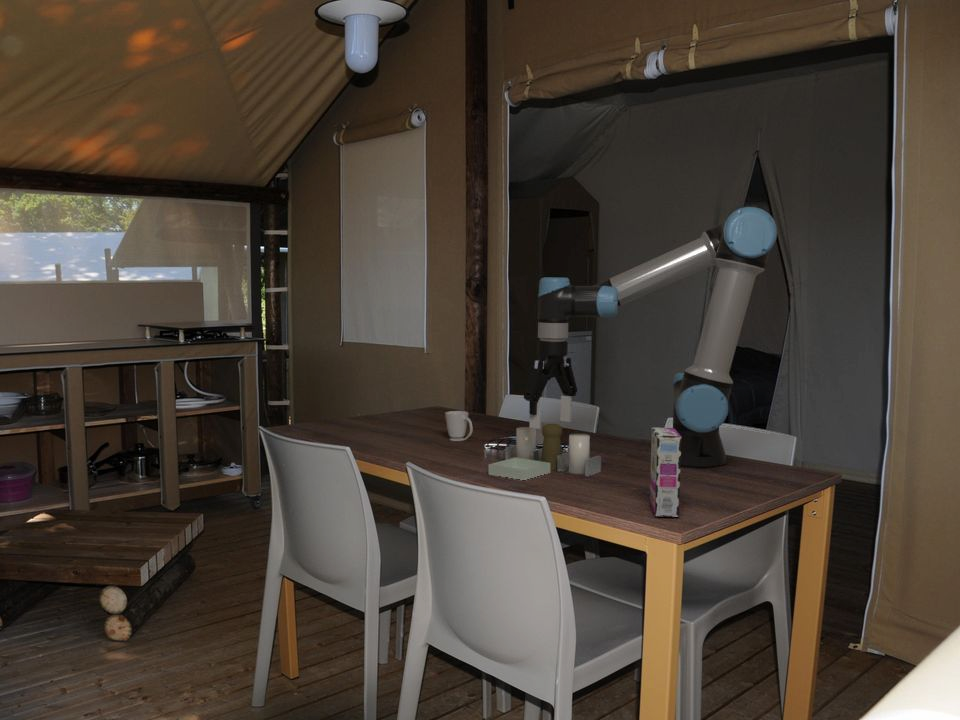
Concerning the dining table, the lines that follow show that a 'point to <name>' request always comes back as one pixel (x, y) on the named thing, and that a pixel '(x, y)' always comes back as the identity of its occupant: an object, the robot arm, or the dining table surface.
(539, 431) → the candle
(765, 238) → the robot arm
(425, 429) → the dining table surface
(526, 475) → the tray
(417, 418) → the dining table surface
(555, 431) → the cork
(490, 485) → the dining table surface
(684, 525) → the dining table surface
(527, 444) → the cream rounded capsule
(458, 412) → the cup
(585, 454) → the cream jar
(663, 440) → the candy bar box
